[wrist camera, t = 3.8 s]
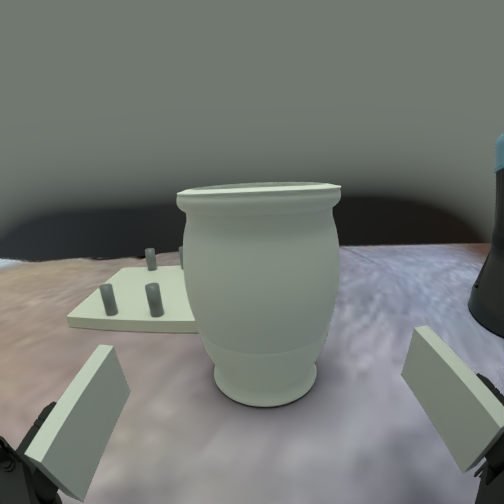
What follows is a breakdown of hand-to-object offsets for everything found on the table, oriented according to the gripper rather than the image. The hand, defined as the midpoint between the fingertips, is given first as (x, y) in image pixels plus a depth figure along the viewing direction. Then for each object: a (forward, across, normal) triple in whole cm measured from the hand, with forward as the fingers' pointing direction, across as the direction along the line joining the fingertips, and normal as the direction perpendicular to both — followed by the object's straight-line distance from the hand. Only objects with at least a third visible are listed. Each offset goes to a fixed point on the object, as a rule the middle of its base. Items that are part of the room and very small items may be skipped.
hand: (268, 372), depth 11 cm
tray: (+26, -14, -8) cm, 30 cm away
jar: (+9, 0, -8) cm, 12 cm away
